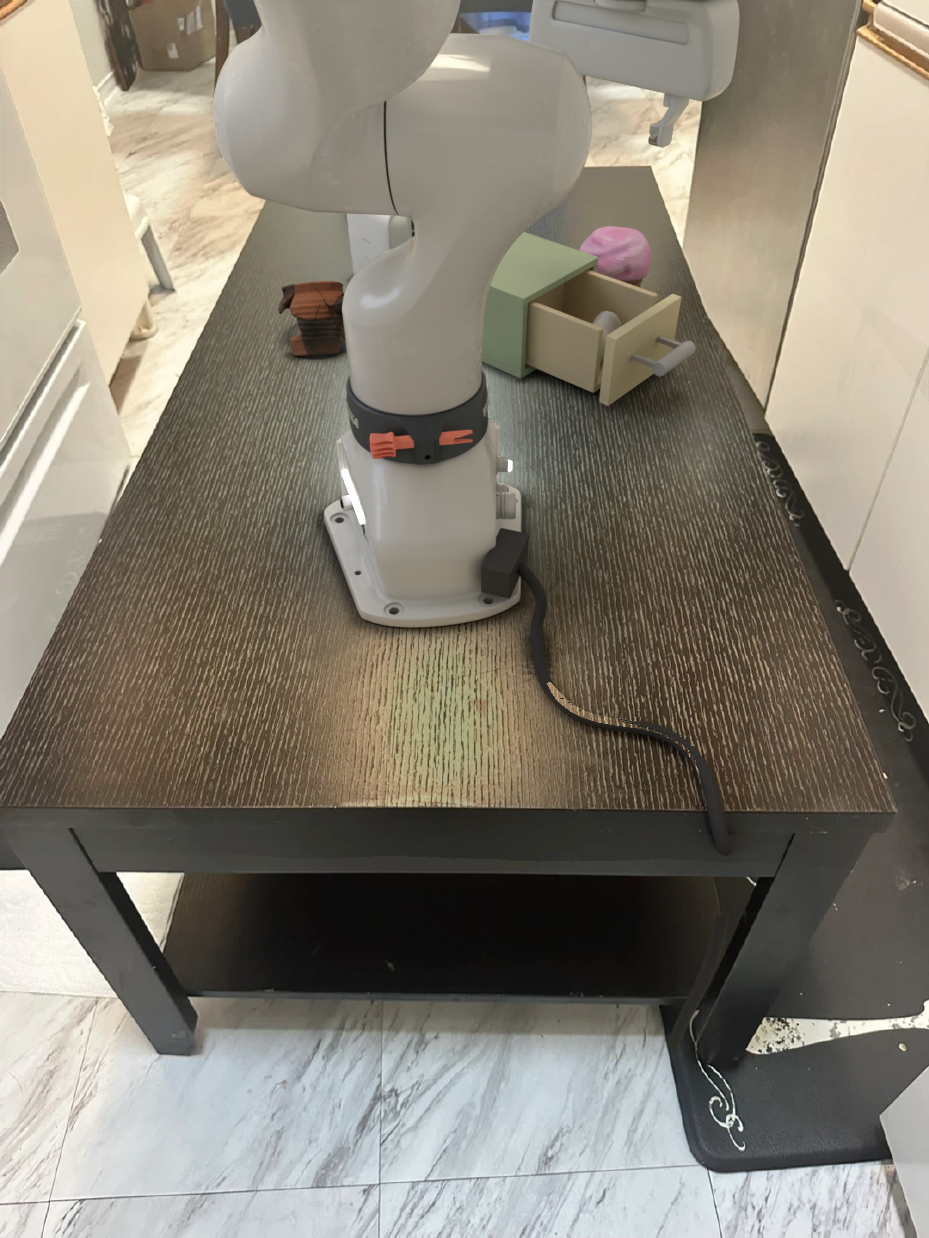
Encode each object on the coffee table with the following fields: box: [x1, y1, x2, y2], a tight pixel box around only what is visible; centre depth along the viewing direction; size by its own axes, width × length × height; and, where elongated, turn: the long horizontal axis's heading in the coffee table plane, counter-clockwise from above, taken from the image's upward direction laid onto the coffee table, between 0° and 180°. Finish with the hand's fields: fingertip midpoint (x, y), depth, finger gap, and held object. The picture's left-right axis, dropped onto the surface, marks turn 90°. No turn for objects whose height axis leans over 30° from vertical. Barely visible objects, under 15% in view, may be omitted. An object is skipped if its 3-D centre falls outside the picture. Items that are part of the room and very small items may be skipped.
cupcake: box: [579, 225, 652, 288], centre depth 109 cm, size 9×9×10 cm
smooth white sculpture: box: [593, 311, 621, 362], centre depth 99 cm, size 4×8×5 cm
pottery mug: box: [277, 280, 346, 357], centre depth 106 cm, size 12×10×8 cm
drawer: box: [525, 270, 697, 407], centre depth 98 cm, size 20×12×8 cm, turn 48°
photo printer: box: [346, 213, 413, 276], centre depth 113 cm, size 10×4×12 cm, turn 39°
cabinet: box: [482, 231, 599, 380], centre depth 105 cm, size 17×14×10 cm
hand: (617, 134), depth 84 cm, fingers open, 8 cm apart
